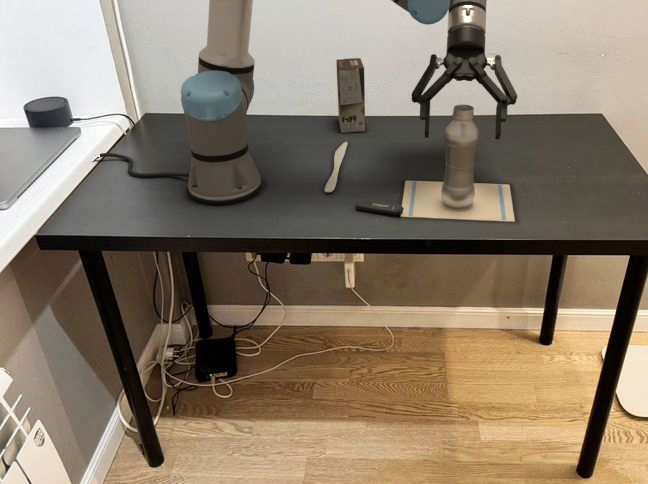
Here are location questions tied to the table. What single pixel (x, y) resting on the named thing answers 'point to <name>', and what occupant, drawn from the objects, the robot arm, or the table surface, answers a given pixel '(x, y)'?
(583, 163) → the table surface
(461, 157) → the plastic bottle
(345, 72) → the coffee box
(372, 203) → the usb stick
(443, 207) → the dish towel
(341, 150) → the butter knife
